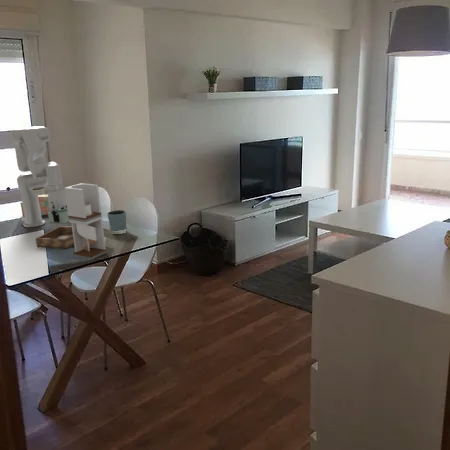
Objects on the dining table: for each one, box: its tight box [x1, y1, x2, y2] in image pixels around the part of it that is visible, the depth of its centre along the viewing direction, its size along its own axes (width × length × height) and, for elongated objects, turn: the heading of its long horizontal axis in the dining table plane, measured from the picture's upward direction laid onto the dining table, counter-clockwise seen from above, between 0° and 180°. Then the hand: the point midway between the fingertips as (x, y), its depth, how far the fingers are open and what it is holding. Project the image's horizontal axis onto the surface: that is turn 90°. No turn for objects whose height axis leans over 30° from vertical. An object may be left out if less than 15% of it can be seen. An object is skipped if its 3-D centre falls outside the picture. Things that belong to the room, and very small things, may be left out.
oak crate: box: [35, 225, 74, 250], centre depth 278 cm, size 18×22×5 cm
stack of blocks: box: [20, 193, 56, 217], centre depth 337 cm, size 21×6×12 cm, turn 96°
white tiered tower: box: [63, 182, 107, 261], centre depth 251 cm, size 11×11×35 cm
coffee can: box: [33, 187, 46, 195], centre depth 356 cm, size 10×10×14 cm
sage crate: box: [47, 209, 70, 225], centre depth 275 cm, size 10×6×6 cm, turn 74°
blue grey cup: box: [107, 209, 128, 232], centre depth 288 cm, size 10×10×12 cm
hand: (60, 219), depth 275 cm, fingers closed on sage crate, 6 cm apart
